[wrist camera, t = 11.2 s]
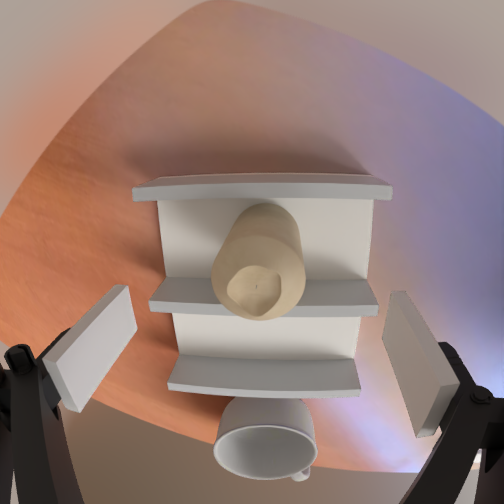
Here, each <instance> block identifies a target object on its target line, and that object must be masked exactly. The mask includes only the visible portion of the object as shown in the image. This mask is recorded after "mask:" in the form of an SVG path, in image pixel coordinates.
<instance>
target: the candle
mask: <svg viewBox="0 0 504 504" xmlns="http://www.w3.org/2000/svg"><path fill="white" fill-rule="evenodd" d="M211 283H212V287H213V290H214V293H215V295H216V296H217V298H218V300H219V301H220V302H221V303H222V305H223V306H224V307H225V308H227V309H228V310H229V311H231V312H232V313H234V314H235V315H237V316H240V317H242V318H245V319H249V320H257V321H263V320H270V319H274V318H278V317H280V316H282V315H284V314H286V313H287V312H289V311H290V310H291V309H293V308H294V306H295V305H296V304H297V303H298V302H299V300H300V299H301V297H302V295H303V292H304V289H305V283H306V276H305V268H304V260H303V253H302V246H301V239H300V233H299V229H298V225H297V223H296V221H295V219H294V218H293V216H292V215H291V214H290V213H289V212H288V211H287V210H285V209H284V208H282V207H280V206H278V205H275V204H270V203H261V204H256V205H253V206H251V207H249V208H247V209H246V210H244V211H243V212H242V213H241V214H240V215H239V216H238V218H237V219H236V221H235V222H234V224H233V226H232V228H231V230H230V232H229V234H228V235H227V237H226V239H225V241H224V243H223V245H222V247H221V249H220V250H219V252H218V254H217V256H216V258H215V260H214V263H213V265H212V270H211Z"/></svg>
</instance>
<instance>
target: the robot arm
mask: <svg viewBox="0 0 504 504" xmlns="http://www.w3.org/2000/svg"><path fill="white" fill-rule="evenodd" d="M136 331H137V325H136V321H135V317H134V312H133V308H132V303H131V299H130V294H129V289H128V285H117V284H115V285H114V286H113V287H112V288H111V289H110V290H109V291H108V292H107V293H106V294H105V295H104V296H103V297H102V298H101V299H100V300H99V301H98V302H97V303H96V304H95V305H94V306H93V307H92V308H91V309H90V310H89V311H88V312H87V313H86V314H85V315H84V316H83V317H82V318H81V319H80V320H79V321H78V322H77V323H76V324H75V325H74V326H73V327H72V328H69V329H67V330H65V331H63V332H62V333H61V334H60V335H59V336H58V337H57V338H56V339H55V340H54V341H53V342H52V343H51V344H50V345H49V346H48V347H47V348H46V349H45V350H44V351H43V352H42V353H41V354H40V355H39V356H38V357H37V358H36V359H35V358H34V356H33V353H32V351H31V349H30V347H29V346H28V345H26V344H18V345H15V346H13V347H11V348H10V349H9V350H7V351H6V353H5V355H4V358H5V360H6V362H7V364H8V366H9V368H10V370H5V369H3V367H2V365H1V363H0V504H10V499H11V488H12V479H13V471H14V474H15V482H16V489H17V495H18V501H19V504H84V501H83V498H82V495H81V492H80V489H79V486H78V483H77V479H76V476H75V472H74V469H73V465H72V462H71V458H70V454H69V450H68V445H67V441H66V437H65V432H64V427H63V423H62V417H61V412H60V409H59V406H58V405H57V404H58V403H59V401H60V400H61V399H62V401H63V403H64V405H65V407H66V408H67V409H69V410H72V411H75V412H78V413H80V412H81V411H82V409H83V408H84V406H85V405H86V403H87V402H88V400H89V398H90V397H91V396H92V394H93V393H94V391H95V390H96V388H97V387H98V385H99V384H100V382H101V381H102V379H103V378H104V377H105V375H106V374H107V372H108V371H109V369H110V368H111V366H112V365H113V364H114V362H115V361H116V359H117V358H118V356H119V355H120V354H121V352H122V351H123V349H124V348H125V346H126V345H127V344H128V342H129V341H130V339H131V338H132V337H133V335H134V334H135V332H136ZM382 340H383V342H384V345H385V348H386V350H387V353H388V356H389V358H390V361H391V364H392V367H393V369H394V372H395V375H396V378H397V381H398V384H399V387H400V389H401V392H402V395H403V398H404V401H405V404H406V407H407V410H408V414H409V417H410V420H411V423H412V426H413V429H414V433H415V436H416V438H419V437H425V436H431V435H434V434H435V432H436V430H437V428H438V426H440V428H441V431H442V434H441V436H440V437H439V439H438V441H437V442H436V444H435V446H434V447H433V450H432V452H431V454H430V456H429V457H428V459H427V461H426V462H425V464H424V466H423V467H422V469H421V471H420V472H419V474H418V476H417V477H416V479H415V480H414V482H413V483H412V485H411V487H410V488H409V490H408V491H407V492H406V494H405V495H404V497H403V498H402V500H401V501H400V503H399V504H454V503H455V501H456V499H457V497H458V495H459V493H460V491H461V489H462V487H463V485H464V483H465V480H466V478H467V476H468V474H469V472H470V469H471V467H472V465H473V462H474V460H475V457H476V455H477V452H478V450H479V449H482V453H481V462H480V470H479V477H478V484H477V490H476V495H475V501H474V504H504V398H495V397H494V396H493V394H492V393H491V392H490V391H489V390H488V389H487V388H485V387H483V386H478V385H476V384H475V382H474V380H473V379H472V377H471V375H470V373H469V372H468V370H467V368H466V367H465V365H464V364H463V362H462V360H461V358H459V355H458V354H457V352H456V350H455V349H454V348H453V347H452V346H451V345H449V344H448V343H447V342H438V343H437V341H436V339H435V338H434V336H433V334H432V333H431V331H430V329H429V328H428V326H427V324H426V323H425V321H424V320H423V318H422V316H421V315H420V313H419V312H418V310H417V308H416V307H415V305H414V304H413V302H412V301H411V299H410V297H409V296H408V294H407V293H406V291H391V295H390V301H389V306H388V311H387V317H386V322H385V326H384V331H383V336H382Z"/></svg>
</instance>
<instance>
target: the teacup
mask: <svg viewBox="0 0 504 504" xmlns="http://www.w3.org/2000/svg"><path fill="white" fill-rule="evenodd" d="M317 451H318V449H317V445H316V443H315V434H314V427H313V422H312V417H311V414H310V411H309V409H308V408H307V406H306V405H305V403H304V402H303V401H302V400H301V399H299V398H257V397H238V396H237V397H235V398H234V399H233V400H231V401H230V402H229V404H228V405H227V406H226V408H225V410H224V412H223V414H222V417H221V420H220V424H219V428H218V433H217V438H216V441H215V443H214V447H213V453H214V456H215V459H216V460H217V462H218V463H219V464H220V465H221V466H222V467H223V468H225V469H227V470H228V471H230V472H232V473H234V474H236V475H239V476H242V477H246V478H251V479H260V480H270V479H279V478H285V477H288V476H290V477H291V478H292V479H293V480H294V481H303V480H305V479H307V478H308V477H309V475H310V465H311V464H312V463H313V462H314V460H315V459H316V456H317Z"/></svg>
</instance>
